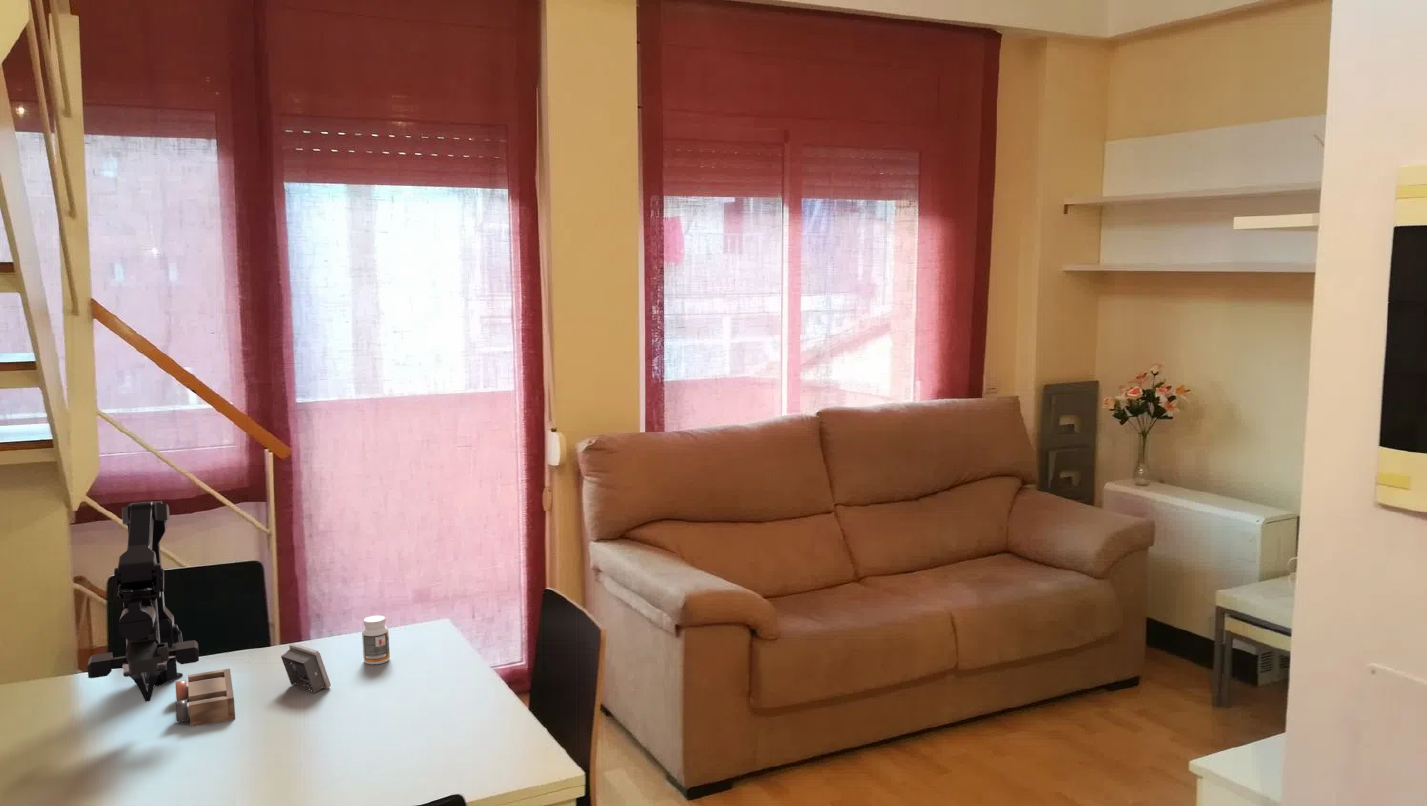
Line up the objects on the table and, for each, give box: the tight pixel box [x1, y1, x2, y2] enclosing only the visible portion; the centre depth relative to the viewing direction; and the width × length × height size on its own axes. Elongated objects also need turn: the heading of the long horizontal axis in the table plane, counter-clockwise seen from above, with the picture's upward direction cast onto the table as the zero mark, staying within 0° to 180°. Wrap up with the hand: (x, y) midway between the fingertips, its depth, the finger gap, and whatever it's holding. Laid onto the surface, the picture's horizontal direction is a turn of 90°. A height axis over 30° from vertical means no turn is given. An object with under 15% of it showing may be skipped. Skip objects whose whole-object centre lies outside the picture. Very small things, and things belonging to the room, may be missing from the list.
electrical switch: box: [280, 643, 332, 694], centre depth 225 cm, size 9×5×9 cm, turn 57°
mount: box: [187, 667, 236, 727], centre depth 217 cm, size 8×17×4 cm, turn 27°
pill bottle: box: [361, 615, 391, 666], centre depth 241 cm, size 6×6×10 cm
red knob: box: [174, 677, 222, 701], centre depth 221 cm, size 9×4×4 cm, turn 117°
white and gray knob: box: [174, 696, 225, 723], centre depth 211 cm, size 9×4×4 cm, turn 117°
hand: (147, 701), depth 206 cm, fingers closed
